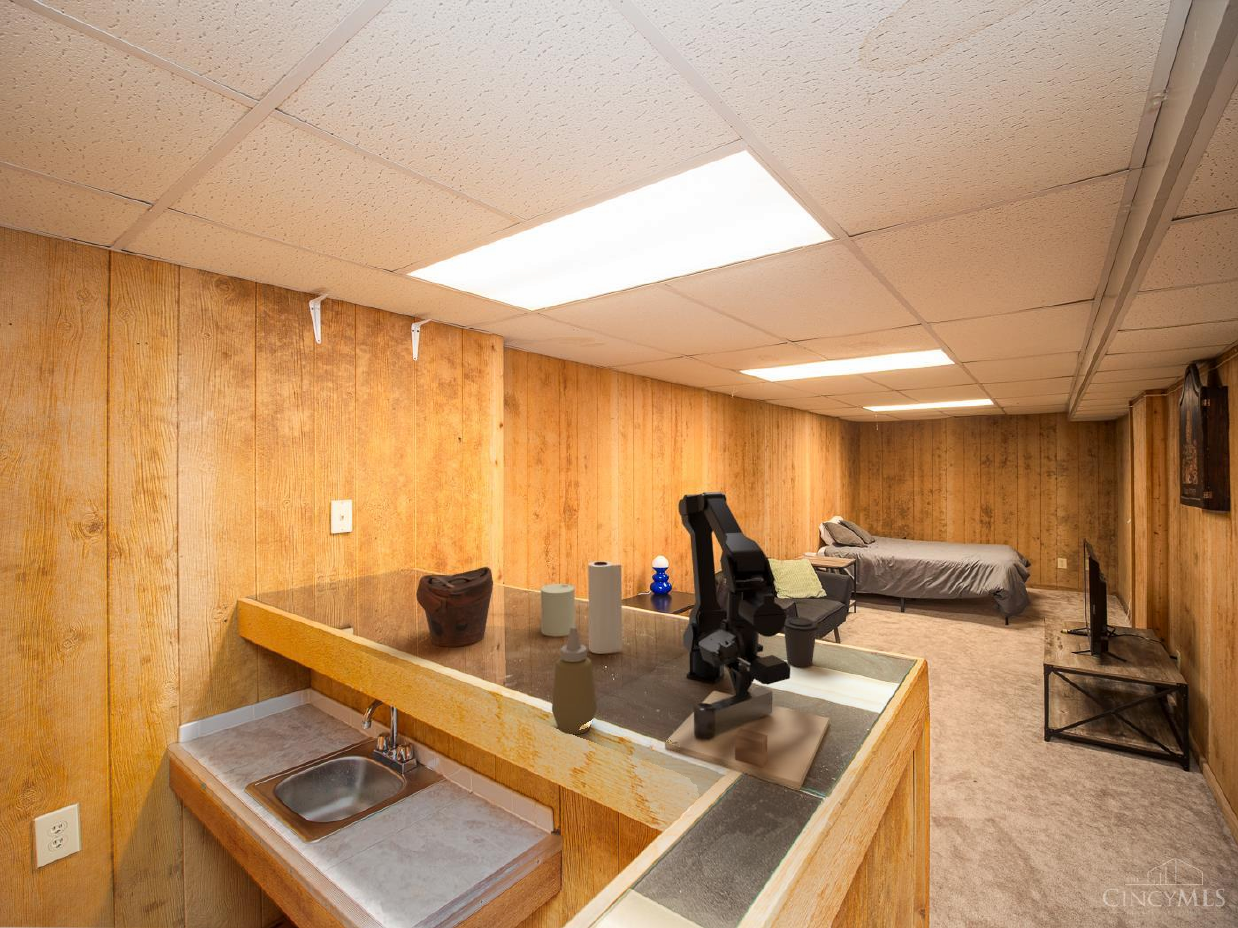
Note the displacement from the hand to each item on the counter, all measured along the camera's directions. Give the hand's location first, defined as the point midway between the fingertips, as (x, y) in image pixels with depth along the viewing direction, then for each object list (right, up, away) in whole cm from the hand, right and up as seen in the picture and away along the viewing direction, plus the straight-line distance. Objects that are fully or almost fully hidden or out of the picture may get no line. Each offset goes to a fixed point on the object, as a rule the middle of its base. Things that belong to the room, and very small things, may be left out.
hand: (740, 700), depth 103 cm
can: (-38, -2, +48) cm, 62 cm away
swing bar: (-2, -2, -4) cm, 5 cm away
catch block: (-1, -3, -15) cm, 15 cm away
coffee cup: (+19, -2, +25) cm, 32 cm away
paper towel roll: (-26, -2, +34) cm, 43 cm away
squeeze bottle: (-30, -4, -2) cm, 31 cm away
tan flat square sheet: (+1, -4, -5) cm, 7 cm away
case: (-64, -2, +42) cm, 77 cm away
